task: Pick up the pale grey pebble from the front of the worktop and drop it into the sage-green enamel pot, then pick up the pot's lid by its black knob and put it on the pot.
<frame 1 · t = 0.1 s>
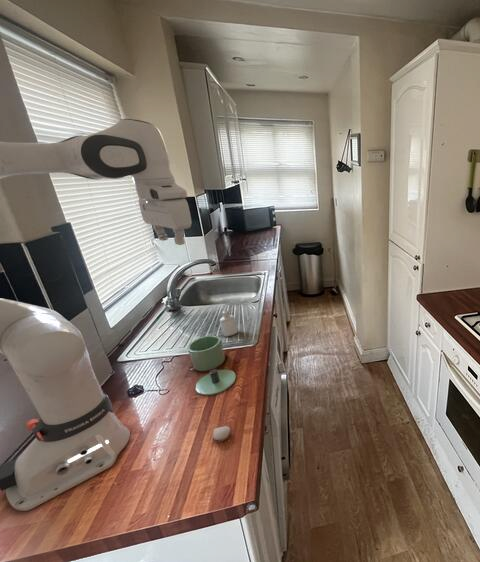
hand: (171, 242, 85), 48 cm above the worktop, tool pointing down, fingers open, 8 cm apart
pot: (209, 362, 112), on the worktop
pale grey pebble: (221, 436, 82), on the worktop
lid: (216, 382, 101), point 1 cm above the worktop
eye dropper bottle: (230, 334, 131), on the worktop
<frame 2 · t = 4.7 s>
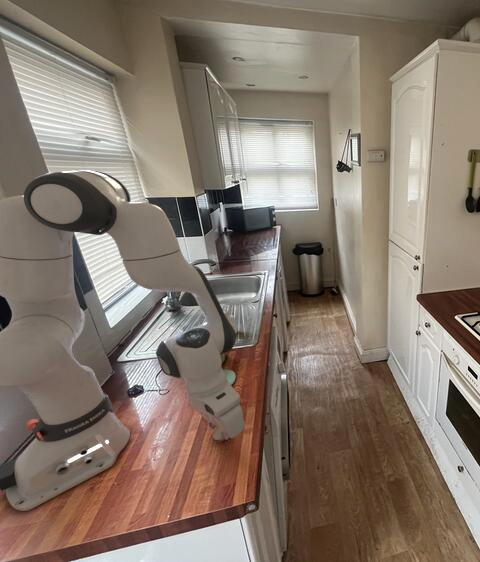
hand: (220, 431, 81), 2 cm above the worktop, tool pointing down, fingers closed on pale grey pebble, 5 cm apart
pale grey pebble: (221, 436, 82), on the worktop, touching gripper
everything else where it was.
when the fingers open (9 cm above the worktop, at t = 13.3 s): pale grey pebble drops 7 cm, resting on pot.
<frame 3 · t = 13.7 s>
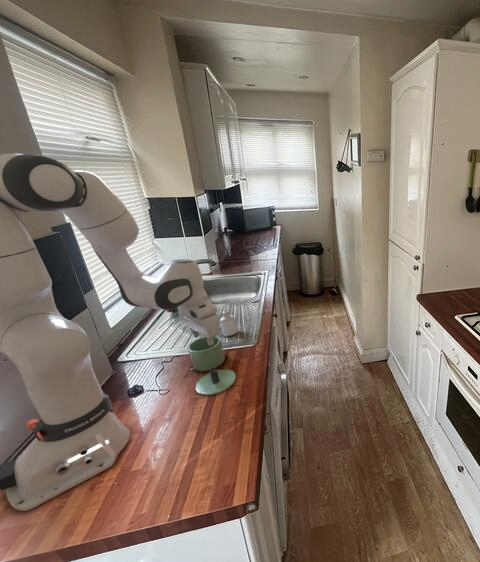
hand: (203, 340, 108), 10 cm above the worktop, tool pointing down, fingers open, 8 cm apart
pale grey pebble: (211, 363, 111), resting on pot
everything else where it was.
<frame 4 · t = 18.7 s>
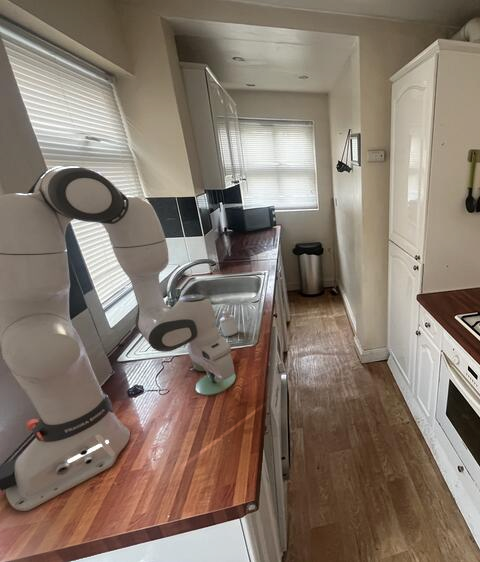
hand: (215, 378, 101), 2 cm above the worktop, tool pointing down, fingers closed on lid, 2 cm apart
lid: (216, 382, 101), point 1 cm above the worktop, touching gripper
everything else where it was.
when the fingers open (10 cm above the worktop, at t = 25.5 s): lid stays where it is, resting on pot.
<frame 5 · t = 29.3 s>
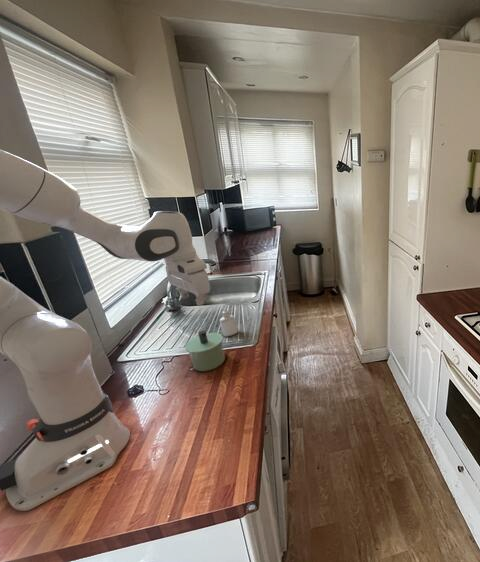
hand: (192, 301, 103), 25 cm above the worktop, tool pointing down, fingers open, 8 cm apart
lid: (204, 343, 109), point 8 cm above the worktop, touching pot
everything else where it was.
at the end: pale grey pebble inside the target area in the pot (1.1 cm from its centre), point 0.2 cm above the pot's base; lid 0.1 cm off-centre on the pot, point 8.4 cm above the pot's base; lid tilted 0° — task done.
